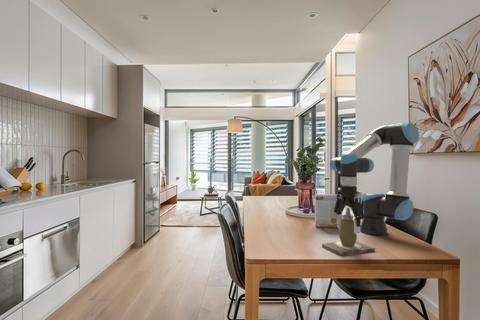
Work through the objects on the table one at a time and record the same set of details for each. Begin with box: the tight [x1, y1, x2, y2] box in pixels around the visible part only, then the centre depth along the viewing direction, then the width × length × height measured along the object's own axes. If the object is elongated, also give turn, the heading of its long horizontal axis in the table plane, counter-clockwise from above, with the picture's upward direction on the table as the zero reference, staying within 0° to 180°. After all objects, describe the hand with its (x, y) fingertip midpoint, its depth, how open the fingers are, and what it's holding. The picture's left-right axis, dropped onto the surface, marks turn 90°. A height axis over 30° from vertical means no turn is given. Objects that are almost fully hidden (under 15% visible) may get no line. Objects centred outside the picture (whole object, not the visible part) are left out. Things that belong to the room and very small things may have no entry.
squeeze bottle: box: [338, 207, 358, 246], centre depth 137 cm, size 8×8×18 cm
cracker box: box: [314, 193, 338, 229], centre depth 181 cm, size 14×6×21 cm, turn 84°
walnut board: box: [321, 240, 376, 257], centre depth 138 cm, size 20×14×2 cm
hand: (348, 230), depth 138 cm, fingers open, 11 cm apart
